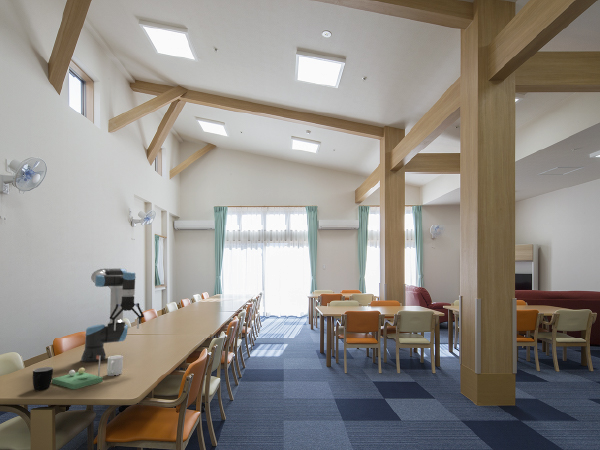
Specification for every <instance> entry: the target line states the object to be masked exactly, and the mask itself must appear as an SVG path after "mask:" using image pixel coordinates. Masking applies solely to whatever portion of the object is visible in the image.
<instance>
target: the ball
mask: <svg viewBox="0 0 600 450" xmlns="http://www.w3.org/2000/svg"><path fill="white" fill-rule="evenodd" d="M75 373H76V370H74V369H70V370H69V371H68V374H67V375H69V376H74V375H75Z"/></svg>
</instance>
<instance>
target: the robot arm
mask: <svg viewBox="0 0 600 450" xmlns="http://www.w3.org/2000/svg"><path fill="white" fill-rule="evenodd" d="M136 278H137V277H136V272H134V271H127V270H126V269H125V268H100V269H97V270H95V271H93V273H91V278H90V279H91V282H93V283H94V286H95V287H99V288H101V287H102V288H103V287H108V288H109V289H110V303H109V304H110V307H109V308H110V311H109V315H110V316H109V321H108V323H107V325H106V324H102V323H101V324H95V325H91V326H88V327H87V328H86V329H85V334H84V335H85V339H84V350H83V352H82V355H81V358H80V361H81V362H83V363H92V362H93V363H94V362H99V359H96V358H97V355H98V356H101V357H100V361H103V360H106V357H107V356H106V352H105V349H104V346H105V345H104V344H108V343H109V344H110V343H119V342H124V341H125V340H126V339H127V336H128V324H126V322H125V321H124V312H125V311H129V312H130V311H132V312H133V313H134V314H135V315H136V316H137V317H138V318H137V320H136V321H137V323H136V329H137V330H138V329H139V327H140V324H141V323H142V318H144V317H145V316H144V313H143V311H142V309H141V307H140V303H138V302H137V303H135V294H136V292H135V291H136V290H135V289H136ZM134 307H137V309H138V312H139V313H138V312H137V311H136V309H134Z"/></svg>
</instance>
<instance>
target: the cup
mask: <svg viewBox="0 0 600 450" xmlns="http://www.w3.org/2000/svg"><path fill="white" fill-rule="evenodd" d="M123 361H124V356H123V355H120V354H118V355H111V356H108V357H107V369H106V375H107V376H109V377H113V376H114V375H116V376H120V375H121V374H122V373H123V365H124V364H123ZM119 374H120V375H119Z"/></svg>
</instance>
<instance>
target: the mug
mask: <svg viewBox="0 0 600 450" xmlns="http://www.w3.org/2000/svg"><path fill="white" fill-rule="evenodd" d="M53 372H54V368H53V367H51V366H45V367H38V368H35V369H33V370H32V388H33V390H35V391H38V392H39V391H46V390H48V389H49V388H50V387H51V384H52V378H53V374H54V373H53Z"/></svg>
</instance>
